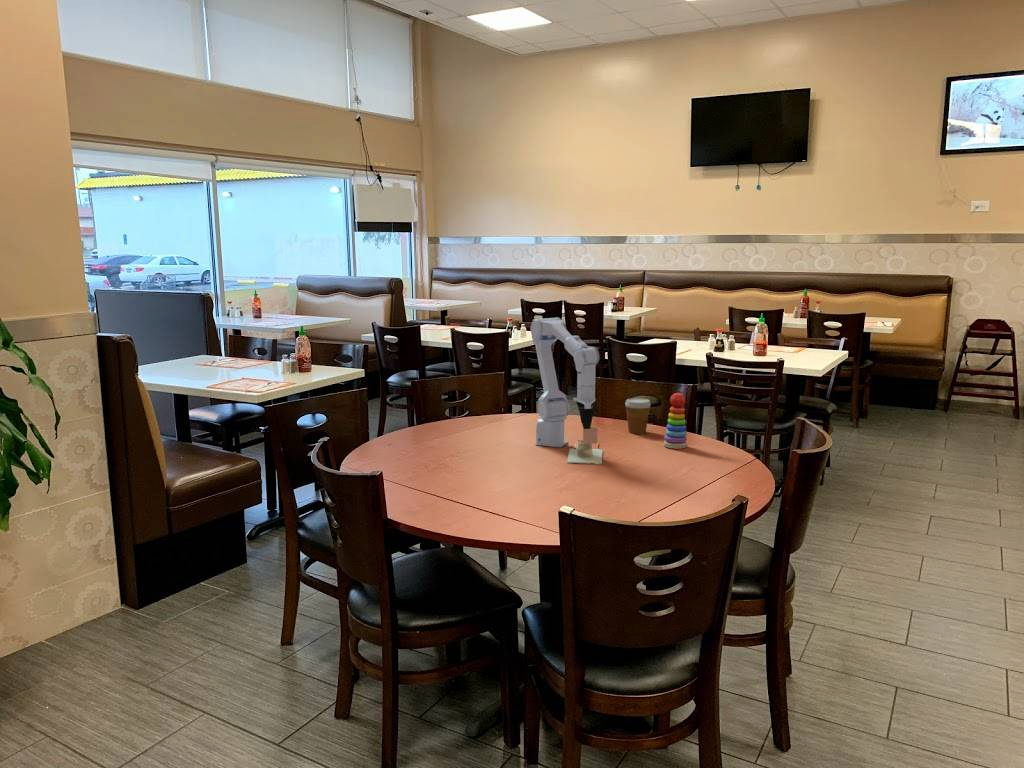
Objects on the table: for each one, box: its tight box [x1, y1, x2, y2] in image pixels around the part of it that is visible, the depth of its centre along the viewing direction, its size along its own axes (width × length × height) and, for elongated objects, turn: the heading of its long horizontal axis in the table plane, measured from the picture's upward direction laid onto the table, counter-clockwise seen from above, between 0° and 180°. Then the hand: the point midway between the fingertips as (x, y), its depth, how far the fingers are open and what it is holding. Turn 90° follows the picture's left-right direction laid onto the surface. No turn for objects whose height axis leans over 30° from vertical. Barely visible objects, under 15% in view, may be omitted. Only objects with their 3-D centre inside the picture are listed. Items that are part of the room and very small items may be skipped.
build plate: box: [566, 448, 603, 465], centre depth 249 cm, size 11×16×1 cm
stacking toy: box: [663, 392, 688, 450], centre depth 260 cm, size 8×8×19 cm
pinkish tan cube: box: [582, 426, 598, 444], centre depth 248 cm, size 4×4×4 cm
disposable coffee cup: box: [624, 397, 652, 435], centre depth 282 cm, size 10×10×12 cm
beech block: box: [577, 439, 592, 457], centre depth 249 cm, size 4×4×4 cm
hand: (585, 426), depth 247 cm, fingers open, 7 cm apart
